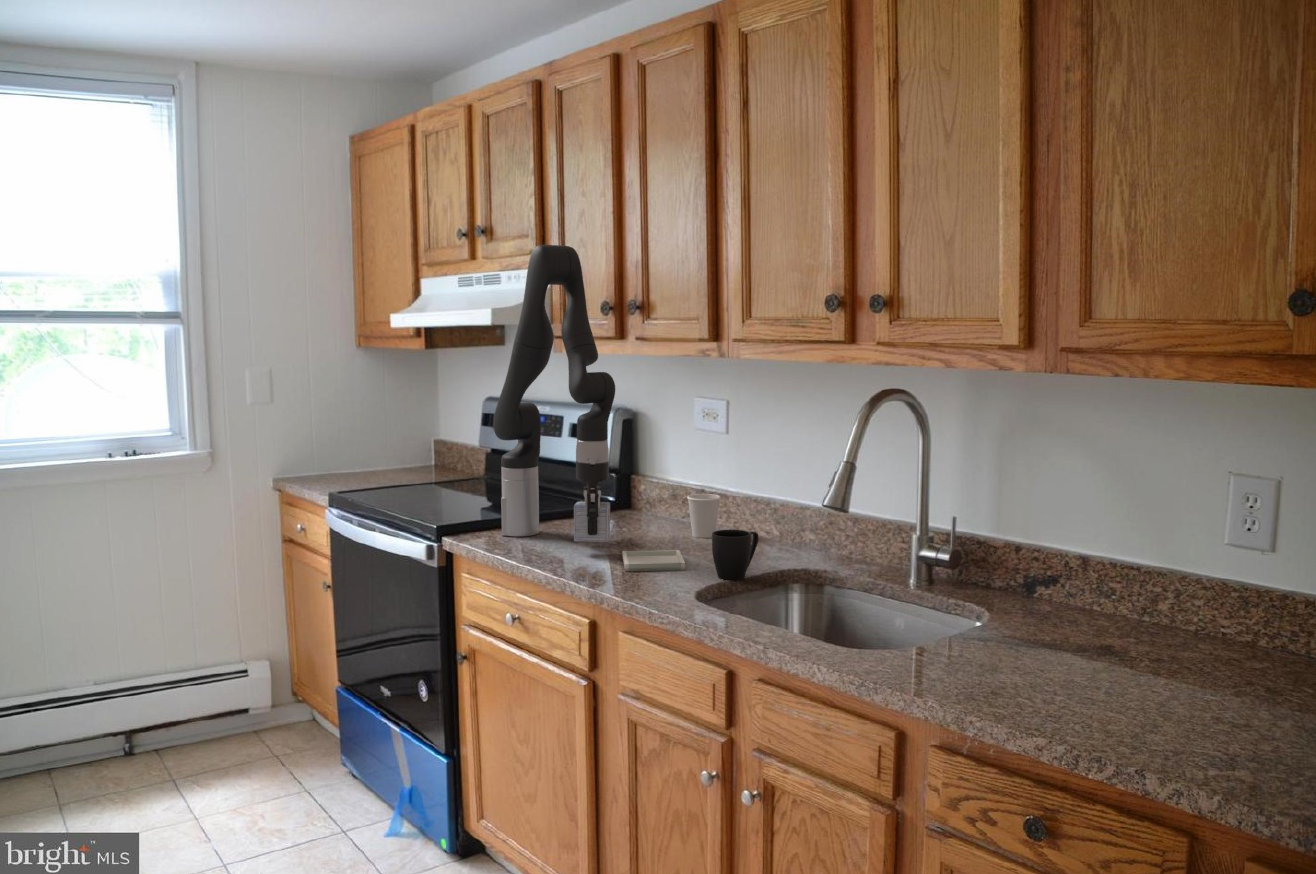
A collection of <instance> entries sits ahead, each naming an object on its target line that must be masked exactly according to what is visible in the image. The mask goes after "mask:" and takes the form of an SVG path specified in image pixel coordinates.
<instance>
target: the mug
mask: <svg viewBox="0 0 1316 874" xmlns="http://www.w3.org/2000/svg"><path fill="white" fill-rule="evenodd" d="M758 543H759V534H758V532H757V531H754V530H753V531H746V530H743V529H720V530H716V531H715V532H713V533H712V537H711V551H712V558H713V562H714V567H715V569H716V574H717V578H718V579H719V580H721V579H723V580H722V581H726V580H732V581H731V582H736V581H741V580H744V579H745V578H746V574H747V570H748V569H749V566H750V565H751V562H752V559H753V556H754V555H755V552H756V549H757V548H758V547H757V546H758ZM744 577H745V578H744Z"/></svg>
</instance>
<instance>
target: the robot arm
mask: <svg viewBox="0 0 1316 874" xmlns="http://www.w3.org/2000/svg"><path fill="white" fill-rule="evenodd" d="M527 265H528V266H527V272H526V278H525V279H526V280H525V289H524V295H523V301H522V306H521V311H520V316H519V320H518V324H517V329H516V332H515V337H514V341H513V345H512V349H511V354H510V360H509V364H508V369H507V373H506V376H505V379H504V383H503V386H502V390H501V392H500V395H499V398H498V400H497V404H496V407H495V411H494V415H493V423H492V425H493V432H494V435H495V437H497V439H499V440H502V441H517V444H516V446H514V448H512V449H511V450H509V451H508V452H506V453H504V454H503V455H501V460H500V461H501V463H500V466H501V467H500V468H501V498H500V504H501V505H500V506H501V536H509V537H529V536H530V537H531V536H535V535H538V534H539V533H540V513H539V512H540V508H539V507H540V506H539V505H540V501H539V495H540V494H539V458H540V453H541V438H542V437H541V434H542V433H541V432H542V420H541V419H542V418H541V413H540V410H539V408H538V407H537V405H536V404H535V403H533V402H522V399H523V396H524V395H525V393H526V392H527V390H528V389H529V387H530V386H532V384H533V383H534V381H536V380H537V379H538V377H539V376H540V375H541V374H542V372H543V371H544V370H545V368H546V367H547V365H548V363H549V361H550V357H551V354H552V351H553V350H552V349H553V345H554V339H555V335H554V329H553V326H552V324H551V323H552V322H551V321H550V319H549V316H548V313H547V310H546V305H545V304H546V295H547V291H548V289H549V288H548V287H549V285H551V286H553V285H554V286H556V285H557V286H562V287H563V289H564V291H565V295H566V308H565V313H564V316H563V319H562V322H561V330H560V331H561V333H560V334H561V340H562V342H563V346H564V350H565V353H566V357H567V361H568V362H567V363H568V364H567V365H568V367H567V368H568V391H569V394H570V397H571V398H572V399H573V400H574V402H575V403H577V404H580V405H581V404H582V405H586V404H592V405H591V408H590V410H589V411H587V412H585V413H583V414H580V415H578V416H577V420H576V448H575V479H576V480H577V481H579V482H586V485H585V486H583V497H584V502H585V508H586V509H587V519H588V535H597V519H598V516H599V514H598V509H599V508H600V502H601V497H602V487H601V486H598V483H599V482H605V481H607V480H608V479H609V478H610V477H609V473H610V469H609V468H610V466H609V465H610V464H609V463H610V461H609V460H610V450H609V448H610V447H609V440H608V439H609V438H608V437H609V436H608V434H609V432H608V431H609V429H608V428H609V427H608V426H609V425H608V424H609V420H610V415H611V411H612V409H613V408H612V407H613V403H614V401H615V400H614V399H615V397H616V396H615V395H616V384H615V381H614V378H613V376H612V375H611V374H610V373H609V372H606V371H597V372H596V371H595V372H594V371H592V372H588V370H587V367H589V366H591V365H593V364H595V363H596V362H597V361H598V359H599V353H598V348H597V345H596V342H595V339H594V336H593V332H592V329H591V325H590V321H589V320H590V319H589V315H588V308H587V300H586V291H585V284H584V277H583V269H582V265H581V259H580V257H579V254H578V252H577V250H575V248H574V247H572V246H570V245H569V246H568V245H562V244H560V245H559V244H558V245H555V244H538V245H536V246H535V247H534V248H533V250H532V251H531V254H530V256H529V261H528V264H527ZM589 509H596V512H590V513H589Z"/></svg>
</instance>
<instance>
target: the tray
mask: <svg viewBox="0 0 1316 874" xmlns="http://www.w3.org/2000/svg"><path fill="white" fill-rule="evenodd" d="M621 557H622V562H623V567H624V568H623V569H624V572H652V571H653V572H655V571H656V572H657V571H658V572H660V571H661V572H662V571H663V572H664V571H686V562H685V560H684V558H683V555H682V552H681V551H680V549H667V550H661V549H660V550H622V556H621Z"/></svg>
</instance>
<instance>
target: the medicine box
mask: <svg viewBox="0 0 1316 874" xmlns="http://www.w3.org/2000/svg"><path fill="white" fill-rule="evenodd" d="M590 512H596V509H589V513H590ZM598 514H599V516H598V519H597V535H588V519H587V509H586V508H585V501H576V503H575V504H574V505H573V530H574V531H573V541H574V542H592V543H593V542H599V543H600V542H601V543H608V542H609V541H610V539H611V502H608V501H600V508H599V509H598Z"/></svg>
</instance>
